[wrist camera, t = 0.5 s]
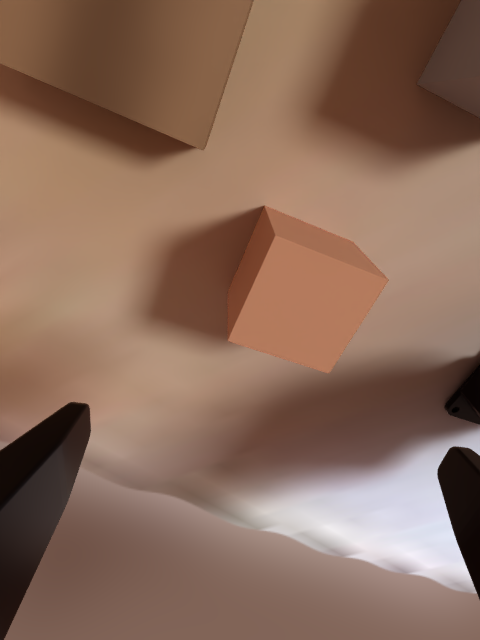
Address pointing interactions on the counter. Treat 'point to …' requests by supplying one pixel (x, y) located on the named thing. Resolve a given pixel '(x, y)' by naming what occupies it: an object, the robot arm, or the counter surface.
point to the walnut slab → (131, 55)
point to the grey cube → (457, 60)
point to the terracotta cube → (300, 292)
